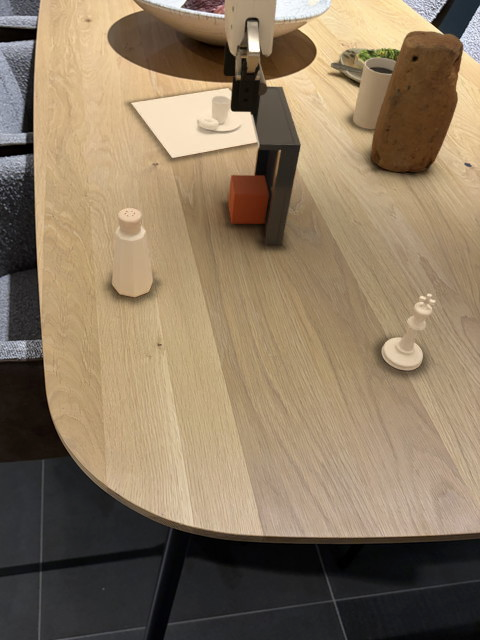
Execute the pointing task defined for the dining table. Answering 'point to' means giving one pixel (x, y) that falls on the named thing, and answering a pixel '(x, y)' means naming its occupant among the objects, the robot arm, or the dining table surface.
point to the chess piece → (409, 339)
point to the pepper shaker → (131, 256)
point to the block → (418, 102)
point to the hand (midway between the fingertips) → (239, 92)
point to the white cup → (372, 91)
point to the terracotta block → (248, 199)
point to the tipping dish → (275, 156)
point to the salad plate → (361, 60)
